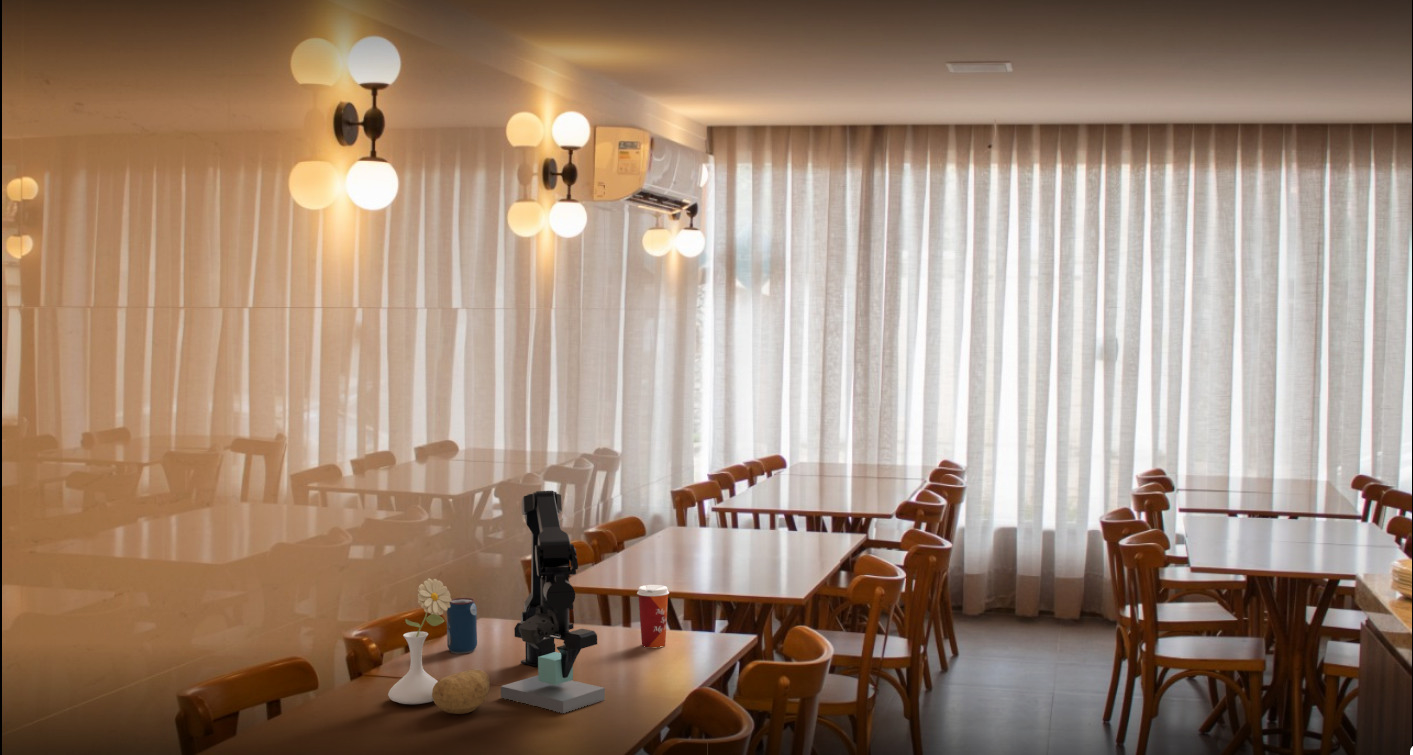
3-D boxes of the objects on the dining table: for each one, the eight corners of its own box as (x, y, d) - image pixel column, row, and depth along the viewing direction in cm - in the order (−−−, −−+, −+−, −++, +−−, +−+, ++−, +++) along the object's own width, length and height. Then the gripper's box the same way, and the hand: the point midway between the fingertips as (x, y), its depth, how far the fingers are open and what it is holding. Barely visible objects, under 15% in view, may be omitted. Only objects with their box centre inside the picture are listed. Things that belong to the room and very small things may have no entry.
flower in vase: (396, 712, 263) (394, 587, 262) (382, 697, 273) (380, 577, 272) (459, 703, 269) (458, 581, 268) (444, 689, 279) (442, 572, 278)
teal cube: (555, 675, 274) (555, 651, 274) (573, 679, 271) (572, 655, 271) (538, 681, 270) (538, 656, 270) (555, 685, 267) (555, 660, 267)
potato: (504, 705, 267) (503, 666, 266) (461, 724, 254) (460, 683, 254) (464, 699, 271) (464, 661, 271) (421, 718, 259) (420, 677, 258)
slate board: (500, 698, 272) (500, 686, 272) (542, 685, 281) (542, 673, 281) (563, 713, 261) (563, 701, 261) (604, 699, 270) (604, 687, 270)
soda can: (483, 649, 313) (482, 599, 313) (463, 655, 307) (462, 604, 307) (461, 645, 317) (460, 596, 316) (441, 651, 311) (440, 601, 311)
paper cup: (665, 650, 311) (665, 591, 311) (634, 648, 313) (633, 590, 312) (673, 642, 319) (672, 584, 318) (642, 640, 321) (641, 583, 320)
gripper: (494, 601, 269) (495, 676, 270) (559, 613, 258) (560, 692, 258) (533, 591, 278) (534, 665, 279) (598, 603, 266) (599, 679, 267)
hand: (555, 675), depth 270 cm, fingers closed on teal cube, 5 cm apart
